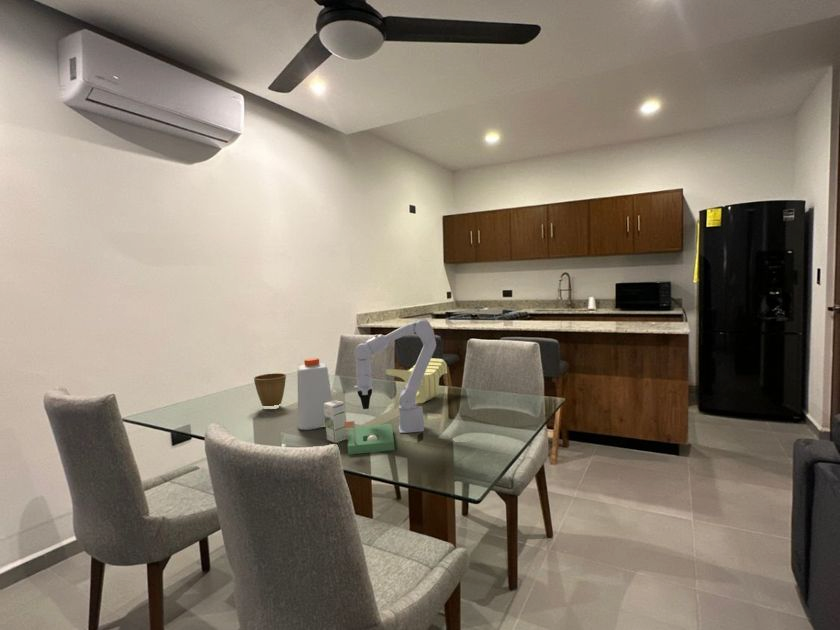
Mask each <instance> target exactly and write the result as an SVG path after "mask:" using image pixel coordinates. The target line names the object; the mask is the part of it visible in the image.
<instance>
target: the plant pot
mask: <svg viewBox="0 0 840 630" xmlns="http://www.w3.org/2000/svg"><path fill="white" fill-rule="evenodd" d="M286 378H287V375H286V373H280V372H278V373H273V372H272V373H266V374H260V375H257V376H254V377H253V380H254V385H255V389H256V390H255V391H256V392H257V393H256V394H257V395H258V398H259V400H260V401H259V402H260V404H261V405H262V407H263V406H274V405H279V404H282V402H283V398H284V394H285V386H286Z"/></svg>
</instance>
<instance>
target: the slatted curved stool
mask: <svg viewBox="0 0 840 630" xmlns="http://www.w3.org/2000/svg"><path fill="white" fill-rule="evenodd" d="M414 367H415V364H414V365H413V366H412V367H410V369H395V368H394V369H392V368H385V375H387V376H388V375H389V376H393V377H397V378H401V379H402V380H403V381H404V382H405V384H407V383H408V381H409V378H410V376H411V374H412V371H413V369H414ZM445 374H448V364H447V362H446V361H445V359H443V358H432V357H431V360H430V362H429V364H428V367H427V369H426V371H425V374H424V376H423V378H422V381H421V383H420V385H419V388H418V391H417V394H416V397H415V400H416V402H417V403H416V404H418V403H421V404H424V403H426V402H427V401H428V402H429V401H430V400H432V399H433V398H436V397H438V395H439V385H440V384H439V383H440V378H441V377H442V375H445ZM399 399H400V396H399ZM399 399H398V400H399Z"/></svg>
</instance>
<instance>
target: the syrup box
mask: <svg viewBox="0 0 840 630" xmlns="http://www.w3.org/2000/svg"><path fill="white" fill-rule="evenodd" d="M345 412H346V411H345V402H344V401H339V400H332V401H329V402H327V403H324V415H325V427H326V428H325V438H326V441H327V442H330V443H333V444H337V443H341V442H343V441H345V440H344V439H346V438H347V439H348V437H347V435H348V434H347V428H345V426H344V422H346V413H345ZM347 439H346V440H347ZM342 440H343V441H342ZM340 441H341V442H340Z"/></svg>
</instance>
